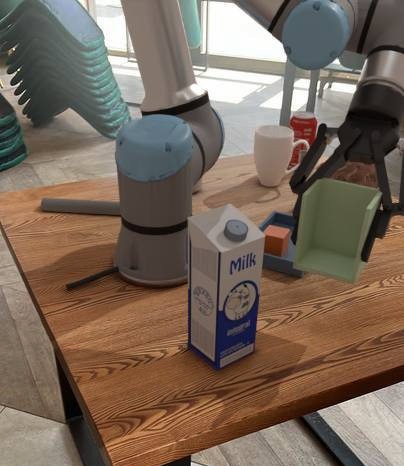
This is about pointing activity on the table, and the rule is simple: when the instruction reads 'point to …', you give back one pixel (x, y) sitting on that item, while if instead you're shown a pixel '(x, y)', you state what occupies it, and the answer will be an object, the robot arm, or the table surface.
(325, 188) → the box
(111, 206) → the half round rod
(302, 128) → the beverage can
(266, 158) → the mug
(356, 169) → the decorative rock
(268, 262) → the tray
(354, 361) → the table surface
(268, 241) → the block
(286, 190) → the table surface
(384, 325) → the table surface
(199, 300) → the milk carton
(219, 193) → the table surface
